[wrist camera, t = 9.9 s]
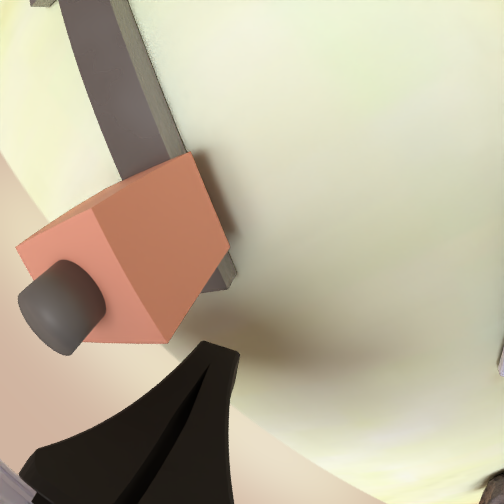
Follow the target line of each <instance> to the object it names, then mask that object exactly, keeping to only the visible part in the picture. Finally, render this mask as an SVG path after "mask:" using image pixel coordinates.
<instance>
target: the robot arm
mask: <svg viewBox="0 0 504 504" xmlns="http://www.w3.org/2000/svg"><path fill="white" fill-rule="evenodd" d="M239 357H240V354H239V353H238V352H237V351H234V350H231V349H228V348H225V347H222V346H219V345H215V344H212V343H209V342H206V341H201V342H200V343H199V344H198V345H197V347H196V348H195V349H194V350H193V351H192V352H191V353H190V354H189V355H188V356H187V357H186V358H185V359H184V360H183V361H182V362H181V363H180V364H179V365H178V366H177V367H176V368H175V369H174V370H173V371H172V372H171V373H170V374H169V375H168V376H166V377H165V378H164V379H163V380H162V381H161V382H160V383H159V384H157V385H156V386H155V387H154V388H152V389H151V390H150V391H149V392H148V393H146V394H145V395H143V396H142V397H141V398H140V399H138V400H137V401H135V402H134V403H133V404H131V405H130V406H128V407H127V408H125V409H124V410H122V411H121V412H119V413H117V414H116V415H114V416H112V417H111V418H109V419H107V420H105V421H104V422H102V423H100V424H98V425H96V426H94V427H93V428H91V429H88V430H86V431H84V432H82V433H79V434H77V435H75V436H73V437H70V438H68V439H65V440H62V441H60V442H57V443H54V444H51V445H48V446H44V447H41V448H38V449H37V450H36V451H35V452H34V453H33V454H32V455H31V456H30V457H29V459H28V460H27V462H26V463H25V465H24V467H23V468H22V469H21V471H20V472H19V476H18V475H17V474H16V473H15V472H14V471H13V470H12V469H10V468H9V467H8V466H7V465H6V464H5V463H4V462H3V461H2V460H1V459H0V504H234V499H233V492H232V485H231V475H230V463H229V444H228V443H229V442H228V427H229V426H228V425H229V406H230V397H231V393H232V390H233V387H234V384H235V379H236V374H237V368H238V363H239ZM498 371H499V374H500V375H501V376H503V377H504V348H503V352H502V355H501V359H500V362H499V366H498Z"/></svg>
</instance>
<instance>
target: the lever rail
mask: <svg viewBox="0 0 504 504" xmlns="http://www.w3.org/2000/svg"><path fill="white" fill-rule="evenodd" d="M58 1H59V4H60V8H61V12H62V16H63V19H64V23H65V26H66V30H67V33H68V36H69V40H70V43H71V46H72V49H73V53H74V56H75V59H76V62H77V65H78V68H79V71H80V74H81V77H82V80H83V83H84V85H85V88H86V91H87V94H88V97H89V99H90V102H91V105H92V107H93V110H94V113H95V115H96V118H97V120H98V123H99V126H100V128H101V131H102V133H103V136H104V138H105V141H106V143H107V146H108V148H109V150H110V153H111V155H112V158H113V160H114V162H115V165H116V167H117V169H118V172H119V174H120V176H121V178H122V181H123V180H125V179H127V178H129V177H131V176H133V175H136V174H138V173H140V172H142V171H145V170H147V169H149V168H151V167H154V166H156V165H158V164H161V163H163V162H165V161H168V160H170V159H173V158H175V157H177V156H180V155H182V154H185V153H187V152H186V150H185V148H184V145H183V143H182V140H181V138H180V135H179V133H178V130H177V128H176V125H175V123H174V120H173V118H172V115H171V113H170V110H169V108H168V105H167V103H166V100H165V98H164V95H163V93H162V90H161V88H160V85H159V82H158V80H157V77H156V75H155V72H154V70H153V67H152V64H151V62H150V59H149V57H148V54H147V51H146V49H145V46H144V44H143V41H142V38H141V36H140V33H139V30H138V28H137V25H136V22H135V20H134V17H133V14H132V12H131V9H130V6H129V4H128V1H127V0H58ZM236 274H237V271H236V269H235V267H234V264H233V262H232V260H231V257H230V255H229V253H228V251H227V253H226V254H225V256H224V257H223V259H222V260H221V262H220V263H219V265H218V266H217V268H216V269H215V271H214V272H213V274H212V275H211V277H210V278H209V280H208V282H207V283H206V285H205V286H204V288H203V289H202V291H201V292H200V293H205V292H213V291H220V290H227V289H228V288H229V286H230V285H231V283H232V281H233V279H234V277H235V276H236Z"/></svg>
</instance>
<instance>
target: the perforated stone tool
mask: <svg viewBox="0 0 504 504" xmlns="http://www.w3.org/2000/svg"><path fill="white" fill-rule="evenodd" d="M479 504H504V474H501V475H499V476H497V477H495V478H494V479H492V480H490V481H489V483H488V485H487V487H486V488H485V490H484V492H483V494H482V497H481V500H480V502H479Z"/></svg>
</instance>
